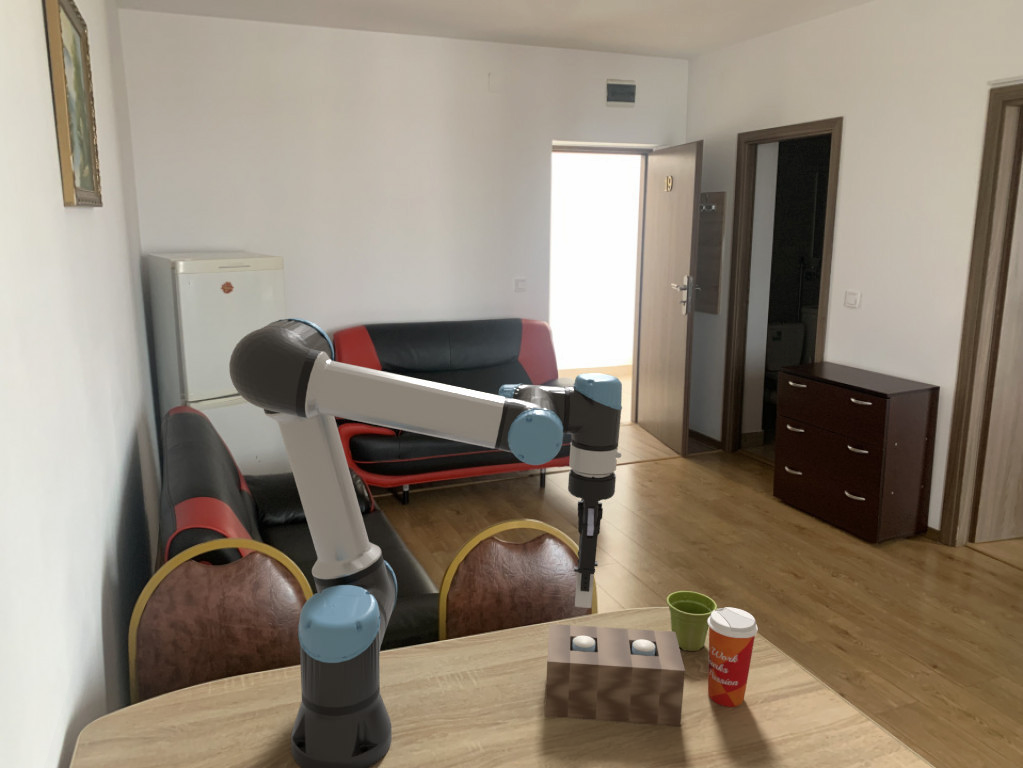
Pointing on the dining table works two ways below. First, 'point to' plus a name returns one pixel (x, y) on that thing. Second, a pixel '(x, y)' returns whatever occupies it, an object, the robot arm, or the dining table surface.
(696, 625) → the plant pot
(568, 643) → the collar block
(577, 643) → the peg
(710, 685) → the coffee cup
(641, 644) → the peg
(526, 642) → the dining table surface
